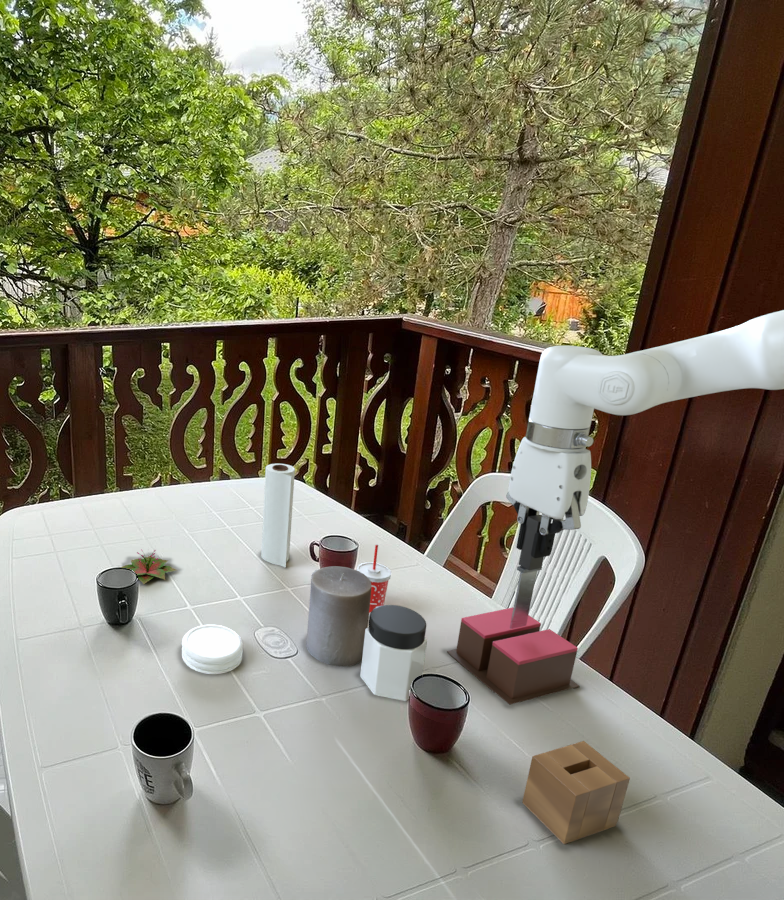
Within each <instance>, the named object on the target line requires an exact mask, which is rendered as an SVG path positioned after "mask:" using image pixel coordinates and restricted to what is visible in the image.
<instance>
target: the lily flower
mask: <svg viewBox="0 0 784 900" xmlns="http://www.w3.org/2000/svg"><path fill="white" fill-rule="evenodd" d="M149 549H150V548H148V549H147V552H148V551H149ZM140 551H141V552H142V553H144V551H143V549H140ZM136 554H138V555H139V556H141V557H142V558H141V557H138V558H134V559H130V563H129V564H125V565H123V566H121V567H120V568H127V569H131V570H133V571H134V572H135V573H136V574H137V575H136V577H137V576H138V578H137V579H138V580H139V581H140V583H142V585H145V584H146V583H148V582H150V581H151V580H152V579H154V578H159V579H162V580H164V581H166V573H171V572H174V571H177V569H176V568H174V567H172V566H171V565H166V563H168V562H169V560H167V559H162V558H158V557H157V558H156V556H155V554H156V549H154V550H153V552H152V553H151V555H149V554H147V555H145V554H141V553H139V552H138V551H137V552H136Z"/></svg>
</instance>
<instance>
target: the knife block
mask: <svg viewBox="0 0 784 900" xmlns="http://www.w3.org/2000/svg"><path fill="white" fill-rule="evenodd" d="M630 781H631V778H630V777H629V776H628V775H627V774H625V772H623V771H622V770H621V769H620V768H618V767H617V766H616V765H615V764H613V763H612V762H611V761H610V760H608V759H607V758H606V757H604V755H602V754H601V753H599V752H598V751H597V750H596V749H594V748H593V747H592V745H590V744H589V743H587V742H586V741H585V740H582V741H578V742H575V743H571V744H569V745H565V746H561V747H559V748H555V749H552V750H549V751H545V752H542V753H538V754H535V755H532V757H531V761H530V766H529V770H528V775H527V779H526V784H525V787H524V788H525V789H524V792H523V797H522V804H523V805H524V806H525V807H526V808H527V809H528V810H529V811H530V812H531V813H532V814H533V815H534V816H535V817H536V818H537V819H538V820H539V822H541V824H543V825H544V826H545V827H546V828H547V829H548V830H549V831H550V832H551V833H552V834H553V835H554V836H555V837H556V838H557V839H558V840H559V842H561V843H562V845H566V844H569V843H571V842H575V841H578V840H580V839H584V838H586V837H589V836H592V835H595V834H598V833H601V832H603V831H606V830H608V829H611V828H614V827H617V826H618V823H619V819H620V815H621V811H622V809H623V805H624V801H625V797H626V793H627V790H628V787H629V783H630Z"/></svg>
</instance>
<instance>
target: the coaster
mask: <svg viewBox="0 0 784 900" xmlns="http://www.w3.org/2000/svg"><path fill="white" fill-rule="evenodd" d="M243 648H244V644H243V640H242V637H241V636H240V635H239V634H238V633H237V632H236V631H235V630H233V629H231V628H229V627H227V626H224V625H220V624H203V625H198V626H196V627H193V628H191V629H190V630H188V631H187V632H186V633H185V634H184V635H183V637H182V640H181V657H182V661H183V663H184V664H185V665H186V666H187V667H189V668H190V669H191V670H193V671H195V672H198V673H201V674H207V675H220V674H226V673H228V672H231V671H233V670H235V669H236V668H237V667H239V666H240V664H241V663H242V661H243V654H244V653H243V651H244V650H243Z"/></svg>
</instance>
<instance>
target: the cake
mask: <svg viewBox="0 0 784 900" xmlns="http://www.w3.org/2000/svg"><path fill="white" fill-rule="evenodd" d="M513 608H514V606H513V607H508V608H503V609H497V610H494V611H488V612H484V613H479V614H473V615H469V616H464V617H461V619H460V620H461V621H460V626H459V632H458V638H457V644H456V648H455V649H454V648H453V649H449V650H446V653H447V654H448V655H449V656H450V657H452V658H453V660H455V661H456V662H458V664H460V665H461V666H462V667H463V668H464V669H466V671H468V672H469V673H470V674H471V675H472V676H474V677H475V678H476V679H478V680H479V682H481V683H482V684H483V686H485V687H486V688H488V689H489V690H491V692H492V693H494V694H496V695H497V696H499V698H501V699H502V701H504V702H505V703H507V704H508V705H513V704H514V705H515V704H517V703H522V702H525V701H530V700H534V699H537V698H541V697H544V696H548V695H552V694H556V693H560V692H564V691H569V690H571V689H574V690H575V689H579V688H580V687H581V686H580V685H579V684H578V683H577V682H575V680H572V675H573V671H574V666H575V663H576V658H577V653H578V651H579V647H577V646H576V645H574V644H573V643H571V641H568V640H567V639H565V638H564V637H563V636H560V635H559V634H558V633H556V632H555V631H553V630H552V629H550V628H548V629H544V630H541V625H542V623H541V622H539V621H538V619H537V620H536V619H535V618H534V617H532V616H531V615H529V614H528V619H527V624H526V626H522V627H518V628H513V629H510V623H511V618H512V613H513Z"/></svg>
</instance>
